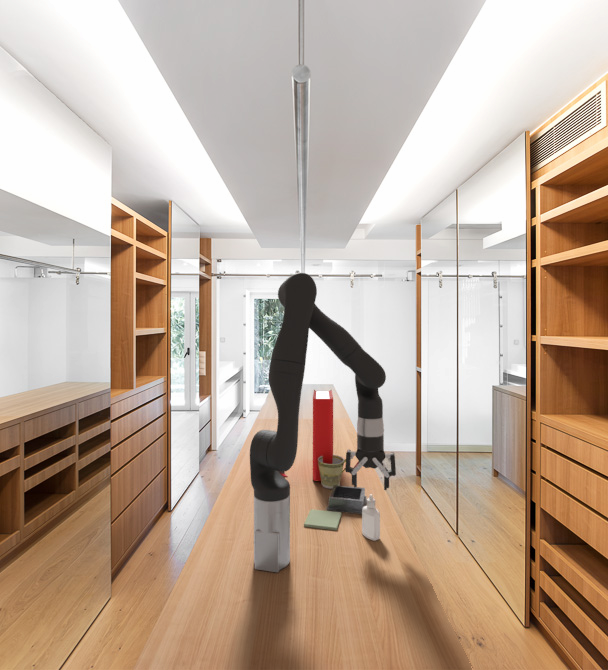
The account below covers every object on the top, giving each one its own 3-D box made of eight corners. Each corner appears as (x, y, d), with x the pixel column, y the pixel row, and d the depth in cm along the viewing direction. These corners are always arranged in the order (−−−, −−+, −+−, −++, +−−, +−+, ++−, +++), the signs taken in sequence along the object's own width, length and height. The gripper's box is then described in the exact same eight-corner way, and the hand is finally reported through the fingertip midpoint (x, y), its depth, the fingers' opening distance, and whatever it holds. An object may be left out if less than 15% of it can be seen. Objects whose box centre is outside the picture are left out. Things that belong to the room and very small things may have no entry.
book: (313, 459, 180) (314, 389, 180) (331, 459, 179) (331, 389, 180) (312, 480, 152) (312, 398, 153) (333, 481, 152) (333, 398, 152)
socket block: (363, 514, 126) (363, 502, 126) (327, 510, 129) (327, 498, 129) (366, 498, 138) (366, 487, 138) (332, 495, 140) (332, 484, 140)
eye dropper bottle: (365, 541, 110) (365, 499, 109) (361, 531, 115) (361, 491, 115) (381, 541, 110) (381, 498, 110) (375, 530, 116) (375, 490, 115)
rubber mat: (336, 530, 116) (336, 527, 116) (303, 526, 118) (303, 523, 118) (341, 514, 126) (341, 512, 126) (310, 511, 128) (310, 509, 128)
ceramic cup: (322, 492, 143) (322, 465, 143) (314, 480, 153) (314, 455, 152) (355, 488, 147) (355, 462, 146) (345, 477, 156) (345, 452, 156)
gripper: (344, 434, 110) (344, 491, 111) (395, 437, 107) (396, 495, 108) (346, 427, 118) (347, 480, 118) (395, 429, 115) (395, 484, 115)
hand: (370, 487), depth 113 cm, fingers open, 8 cm apart
